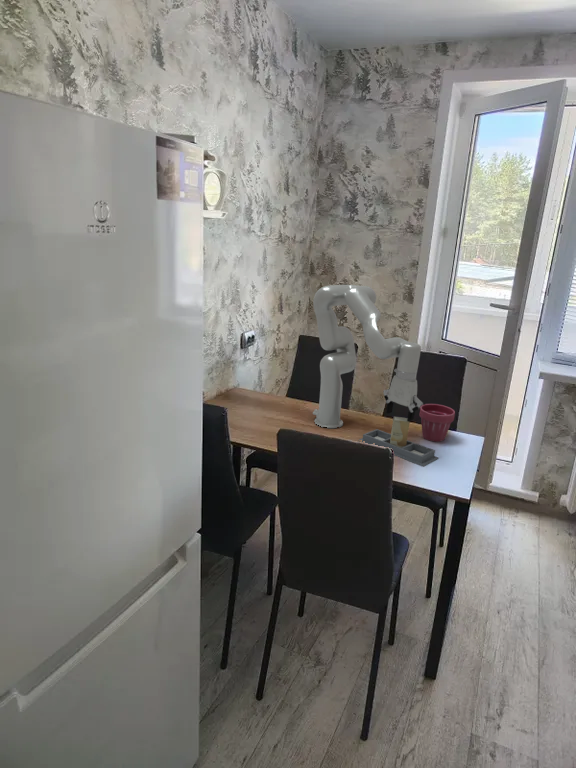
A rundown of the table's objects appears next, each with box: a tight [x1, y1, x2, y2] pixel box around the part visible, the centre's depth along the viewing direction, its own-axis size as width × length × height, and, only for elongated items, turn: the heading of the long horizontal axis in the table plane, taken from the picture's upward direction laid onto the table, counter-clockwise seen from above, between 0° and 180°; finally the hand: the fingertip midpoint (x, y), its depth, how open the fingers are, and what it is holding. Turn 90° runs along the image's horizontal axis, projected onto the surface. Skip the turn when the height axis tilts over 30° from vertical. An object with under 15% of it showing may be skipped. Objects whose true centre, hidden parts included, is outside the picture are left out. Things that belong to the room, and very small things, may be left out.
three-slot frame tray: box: [358, 428, 439, 467], centre depth 205 cm, size 30×11×3 cm, turn 45°
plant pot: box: [419, 403, 456, 443], centre depth 218 cm, size 14×14×13 cm
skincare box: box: [390, 416, 411, 448], centre depth 203 cm, size 6×4×12 cm
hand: (399, 416), depth 202 cm, fingers open, 9 cm apart
